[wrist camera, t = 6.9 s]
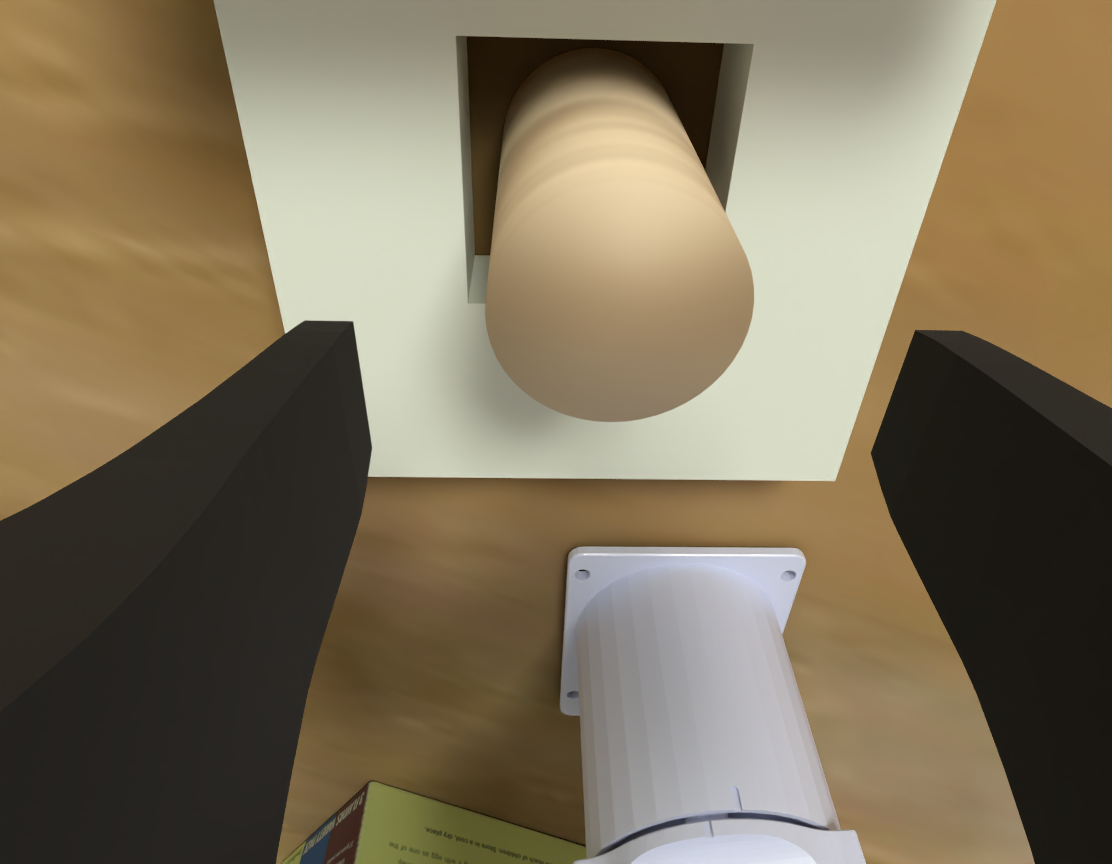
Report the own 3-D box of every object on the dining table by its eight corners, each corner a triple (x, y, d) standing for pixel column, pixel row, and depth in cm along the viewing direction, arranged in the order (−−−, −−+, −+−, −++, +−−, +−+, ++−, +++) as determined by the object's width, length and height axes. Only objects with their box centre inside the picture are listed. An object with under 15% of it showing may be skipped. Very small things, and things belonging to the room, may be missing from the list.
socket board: (809, 424, 23) (835, 480, 21) (335, 419, 23) (316, 476, 21) (1078, -500, 12) (1185, -563, 10) (157, -547, 11) (78, -624, 10)
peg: (665, 227, 19) (729, 423, 13) (503, 223, 19) (487, 421, 13) (687, 50, 17) (780, 186, 10) (501, 45, 17) (481, 180, 10)
